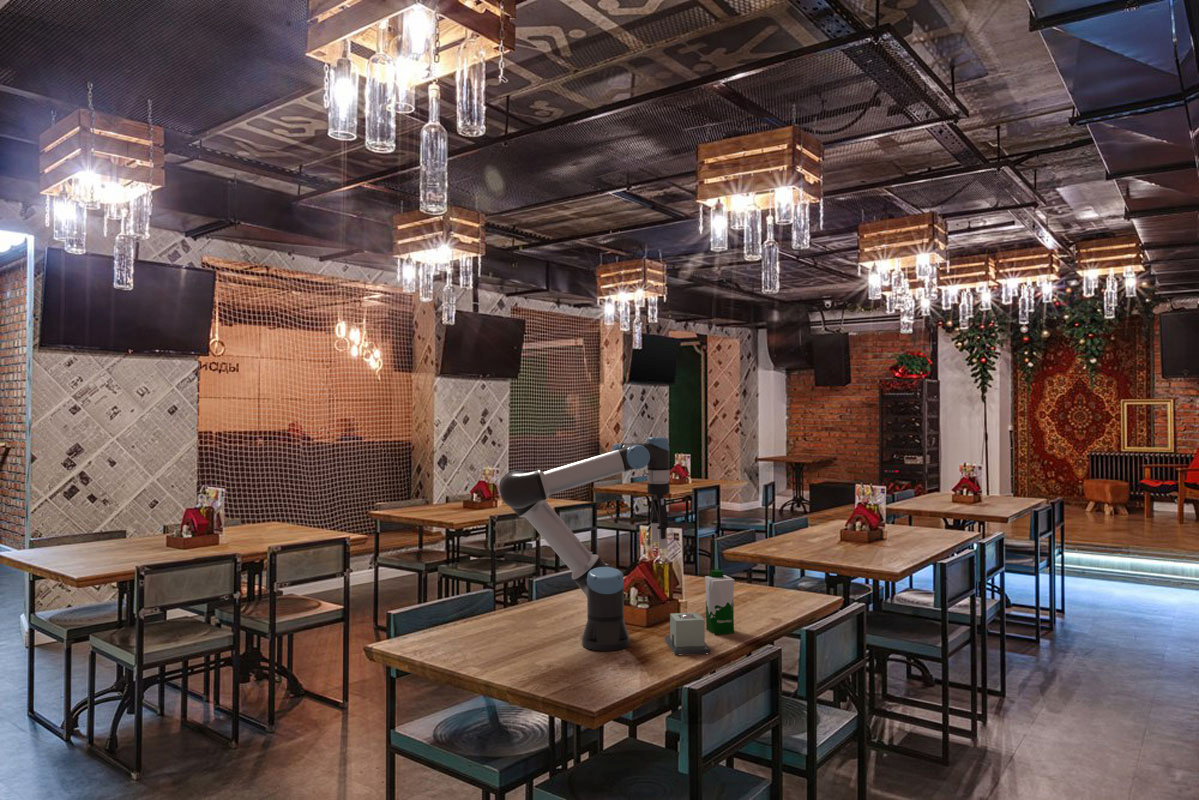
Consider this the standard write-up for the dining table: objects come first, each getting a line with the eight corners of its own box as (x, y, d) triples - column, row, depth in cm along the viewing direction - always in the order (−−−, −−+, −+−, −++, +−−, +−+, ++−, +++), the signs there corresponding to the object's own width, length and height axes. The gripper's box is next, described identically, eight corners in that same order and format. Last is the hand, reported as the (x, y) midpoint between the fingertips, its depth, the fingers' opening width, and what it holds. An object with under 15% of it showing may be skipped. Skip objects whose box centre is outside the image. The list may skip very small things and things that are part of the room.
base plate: (675, 655, 237) (675, 622, 237) (664, 640, 253) (664, 609, 253) (710, 653, 238) (710, 620, 238) (698, 639, 254) (697, 608, 254)
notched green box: (676, 646, 240) (675, 620, 241) (670, 638, 249) (670, 613, 250) (704, 645, 241) (704, 619, 242) (697, 637, 250) (697, 612, 251)
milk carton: (726, 627, 269) (725, 568, 269) (737, 634, 260) (737, 573, 260) (702, 629, 266) (702, 570, 267) (713, 636, 258) (713, 575, 258)
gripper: (641, 479, 278) (642, 539, 277) (654, 485, 253) (654, 551, 252) (662, 479, 278) (663, 539, 278) (676, 485, 254) (677, 551, 253)
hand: (659, 545), depth 265 cm, fingers open, 13 cm apart
